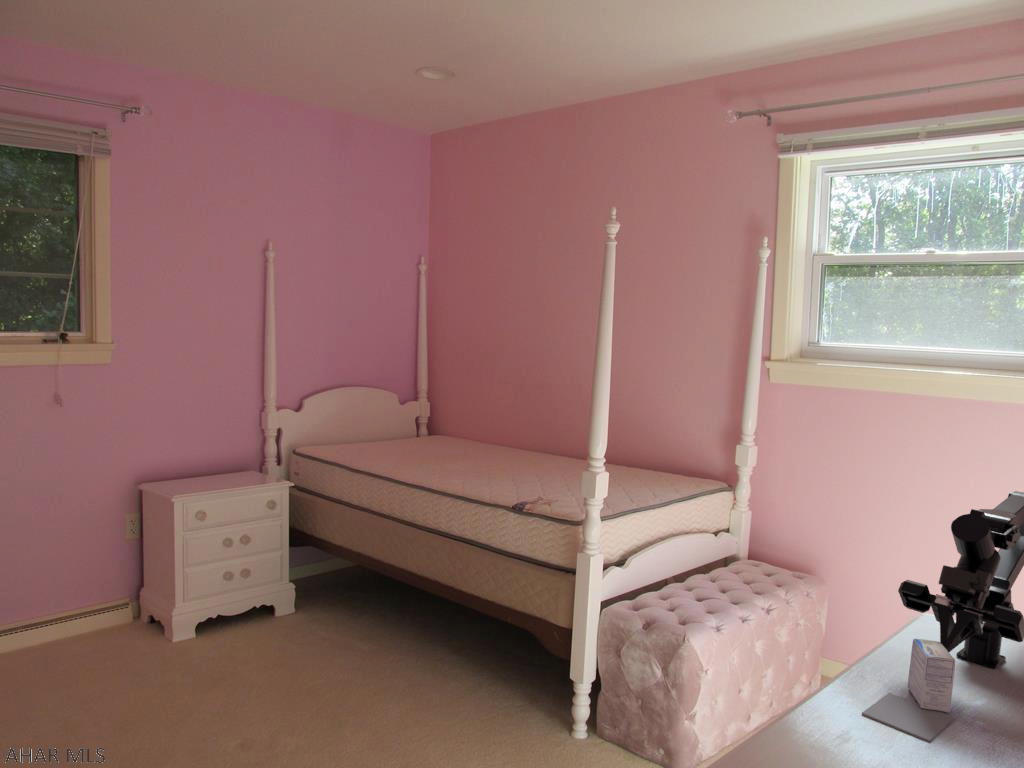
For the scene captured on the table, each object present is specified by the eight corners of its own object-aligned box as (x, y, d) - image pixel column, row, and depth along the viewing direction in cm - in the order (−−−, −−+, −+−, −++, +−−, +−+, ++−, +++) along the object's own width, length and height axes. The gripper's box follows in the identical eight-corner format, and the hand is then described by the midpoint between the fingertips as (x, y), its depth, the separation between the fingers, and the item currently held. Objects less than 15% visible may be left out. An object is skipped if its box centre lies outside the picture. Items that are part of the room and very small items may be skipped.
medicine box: (950, 713, 129) (957, 660, 128) (919, 709, 130) (926, 655, 129) (935, 692, 137) (941, 641, 136) (906, 687, 138) (912, 637, 137)
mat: (889, 694, 135) (889, 692, 135) (954, 719, 128) (955, 717, 128) (861, 714, 128) (861, 712, 128) (929, 742, 121) (929, 740, 121)
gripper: (908, 534, 145) (875, 609, 138) (1030, 563, 131) (999, 648, 125) (920, 569, 151) (889, 642, 144) (1037, 600, 138) (1009, 683, 131)
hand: (943, 652), depth 136 cm, fingers closed
